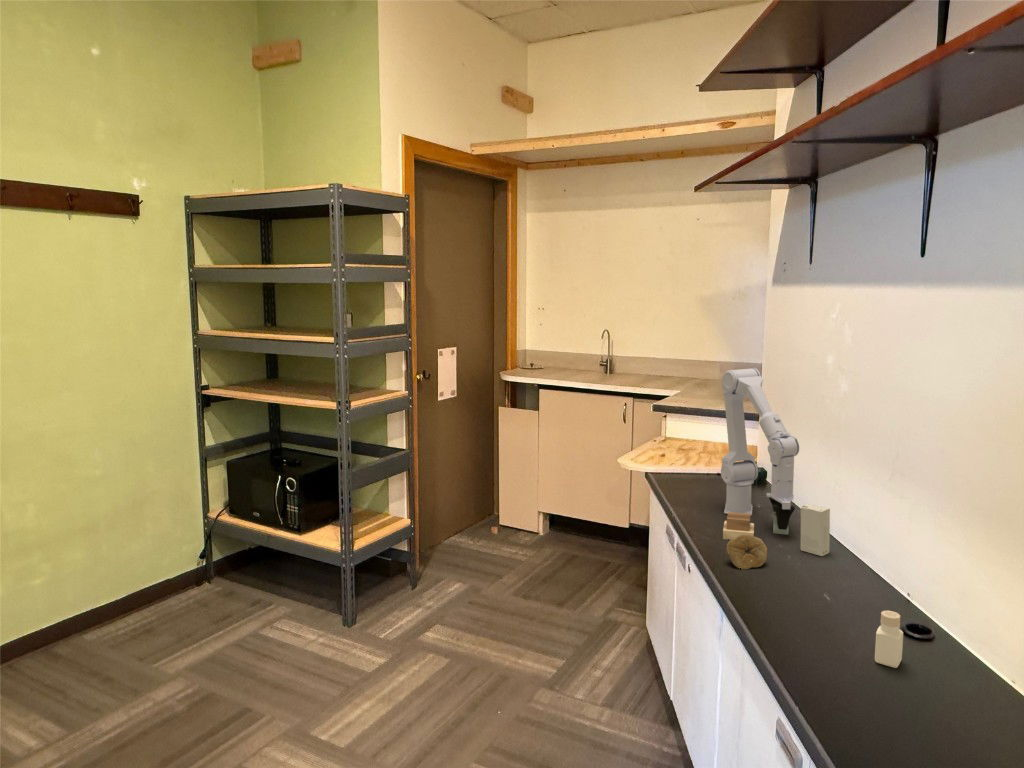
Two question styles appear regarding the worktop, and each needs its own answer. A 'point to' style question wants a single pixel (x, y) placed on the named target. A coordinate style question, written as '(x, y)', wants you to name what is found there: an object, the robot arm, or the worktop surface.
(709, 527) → the worktop surface
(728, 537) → the birch slab
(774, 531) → the greenish gray cube
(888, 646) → the cream bottle
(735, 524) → the walnut block
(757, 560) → the fossil
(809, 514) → the skincare box
